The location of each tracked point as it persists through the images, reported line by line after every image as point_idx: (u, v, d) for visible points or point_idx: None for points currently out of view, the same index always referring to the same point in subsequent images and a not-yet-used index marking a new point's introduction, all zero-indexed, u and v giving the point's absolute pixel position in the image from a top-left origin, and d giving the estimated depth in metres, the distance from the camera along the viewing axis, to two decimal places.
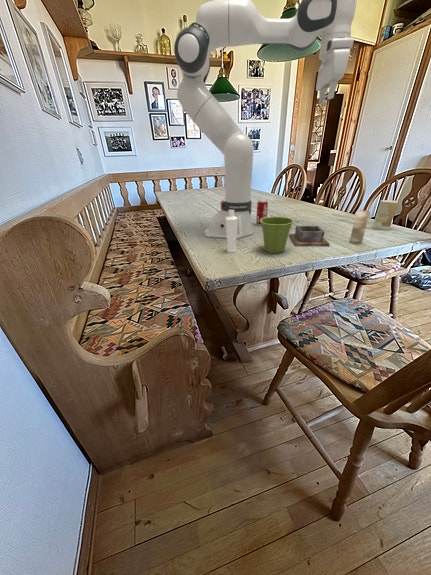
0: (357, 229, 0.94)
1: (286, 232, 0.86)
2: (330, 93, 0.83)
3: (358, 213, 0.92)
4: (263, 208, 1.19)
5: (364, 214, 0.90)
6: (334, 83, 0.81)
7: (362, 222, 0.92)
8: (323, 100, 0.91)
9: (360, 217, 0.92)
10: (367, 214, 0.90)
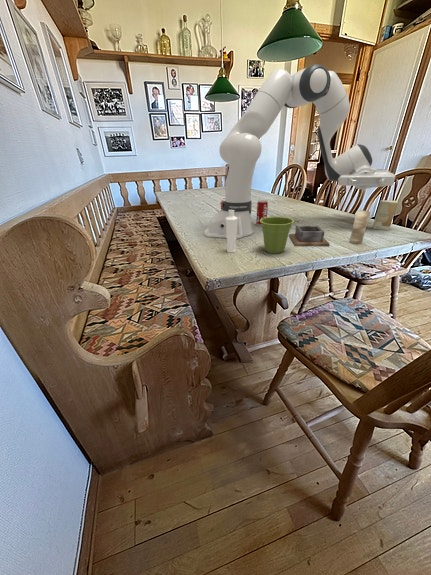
0: (357, 229, 0.94)
1: (286, 232, 0.86)
2: None
3: (358, 213, 0.92)
4: (263, 208, 1.19)
5: (364, 214, 0.90)
6: (384, 181, 0.98)
7: (362, 222, 0.92)
8: (354, 183, 0.99)
9: (360, 217, 0.91)
10: (367, 214, 0.90)
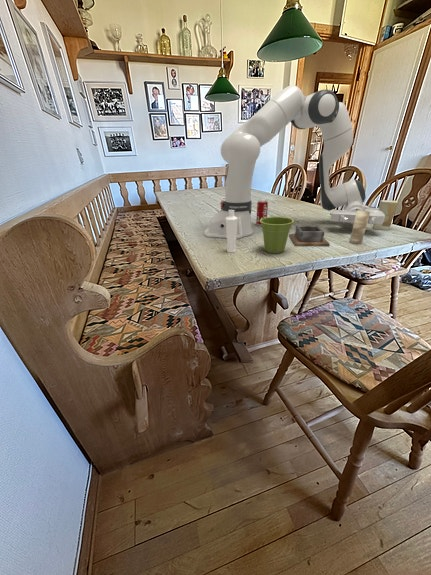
0: (357, 229, 0.94)
1: (286, 232, 0.86)
2: None
3: (358, 213, 0.92)
4: (263, 208, 1.19)
5: (364, 214, 0.90)
6: (374, 220, 1.01)
7: (362, 222, 0.92)
8: None
9: (360, 217, 0.91)
10: (367, 214, 0.90)
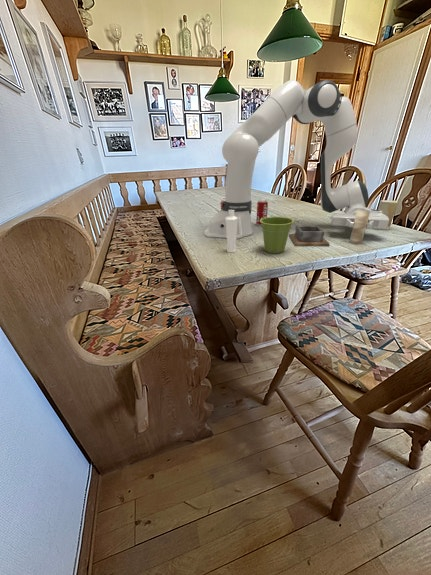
0: (357, 229, 0.94)
1: (286, 232, 0.86)
2: None
3: (358, 213, 0.92)
4: (263, 208, 1.19)
5: (364, 214, 0.90)
6: (372, 224, 0.95)
7: (362, 222, 0.92)
8: None
9: (360, 217, 0.92)
10: (367, 214, 0.90)
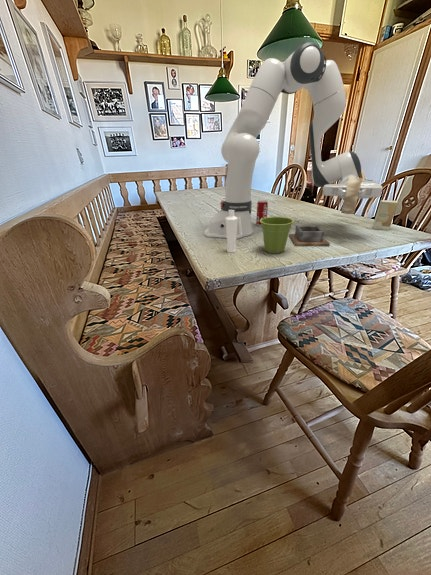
0: (349, 197, 0.89)
1: (286, 232, 0.86)
2: None
3: (350, 179, 0.87)
4: (263, 208, 1.19)
5: (356, 180, 0.86)
6: (365, 192, 0.90)
7: (354, 189, 0.87)
8: (344, 193, 0.91)
9: (352, 184, 0.87)
10: (359, 180, 0.86)
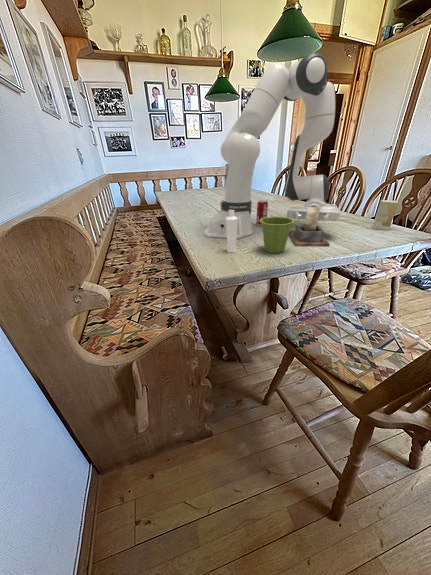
0: (308, 225, 0.96)
1: (286, 232, 0.86)
2: (326, 217, 0.95)
3: (308, 209, 0.94)
4: (263, 208, 1.19)
5: (313, 210, 0.93)
6: (329, 217, 0.97)
7: (312, 218, 0.95)
8: None
9: (310, 213, 0.94)
10: (316, 210, 0.93)
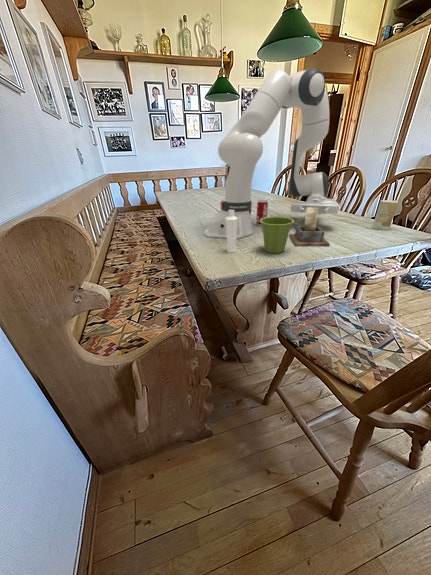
0: (308, 225, 0.96)
1: (286, 232, 0.86)
2: (327, 210, 1.05)
3: (307, 210, 0.95)
4: (263, 208, 1.19)
5: (312, 210, 0.93)
6: (329, 210, 1.07)
7: (312, 218, 0.95)
8: None
9: (309, 213, 0.94)
10: (315, 210, 0.93)
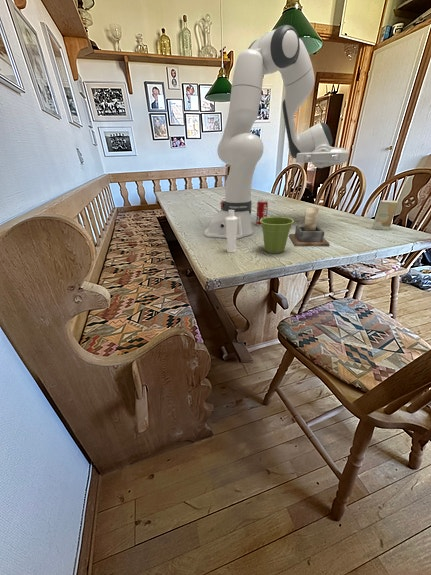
0: (308, 225, 0.96)
1: (286, 232, 0.86)
2: (336, 156, 0.97)
3: (307, 210, 0.95)
4: (263, 208, 1.19)
5: (313, 211, 0.93)
6: (338, 157, 0.99)
7: (311, 218, 0.95)
8: (309, 158, 1.00)
9: (309, 214, 0.94)
10: (315, 211, 0.93)
